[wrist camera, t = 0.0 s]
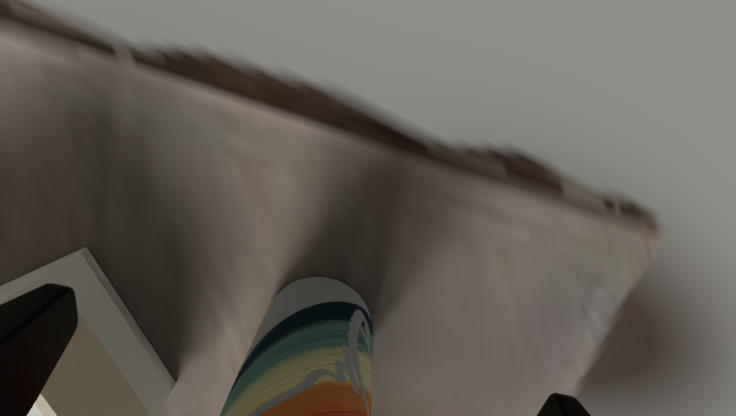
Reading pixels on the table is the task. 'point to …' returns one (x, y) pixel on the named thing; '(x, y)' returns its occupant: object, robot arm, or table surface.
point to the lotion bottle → (308, 355)
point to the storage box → (96, 348)
